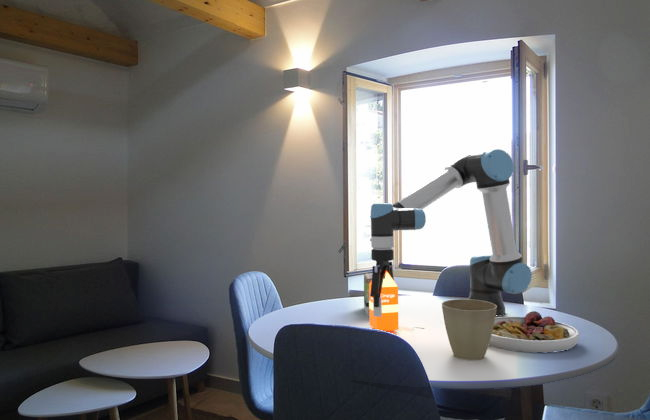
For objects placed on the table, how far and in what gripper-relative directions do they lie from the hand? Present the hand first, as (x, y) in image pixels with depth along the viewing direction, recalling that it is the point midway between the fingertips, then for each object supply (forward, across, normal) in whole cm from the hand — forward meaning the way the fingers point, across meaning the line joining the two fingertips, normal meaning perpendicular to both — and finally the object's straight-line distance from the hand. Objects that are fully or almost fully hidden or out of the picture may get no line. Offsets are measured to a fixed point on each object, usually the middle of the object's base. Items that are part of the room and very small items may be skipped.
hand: (383, 312), depth 175 cm
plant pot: (+7, +19, +32) cm, 38 cm away
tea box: (+7, -30, -13) cm, 33 cm away
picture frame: (+7, 0, 0) cm, 7 cm away
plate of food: (+8, -6, +45) cm, 46 cm away
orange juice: (+5, 0, 0) cm, 5 cm away
